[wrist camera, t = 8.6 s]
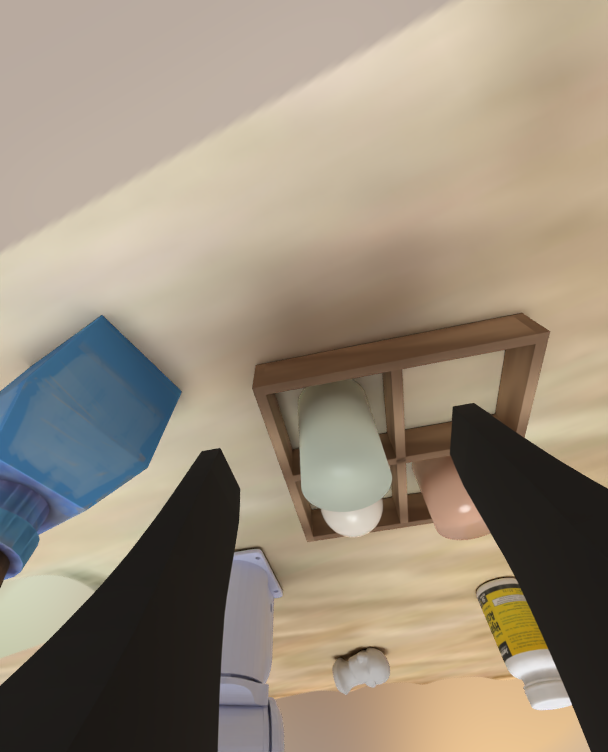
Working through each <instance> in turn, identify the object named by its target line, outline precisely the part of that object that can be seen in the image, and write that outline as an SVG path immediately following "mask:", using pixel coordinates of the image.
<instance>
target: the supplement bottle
mask: <svg viewBox="0 0 608 752" xmlns="http://www.w3.org/2000/svg"><path fill="white" fill-rule="evenodd" d="M477 598H478V601H479V603H480V606H481V608H482V610H483V613H484V615H485V617H486V620H487V622H488V625H489V627H490V629H491V632H492V634H493V636H494V639H495V641H496V644H497V646H498V648H499V651H500V653H501V655H502V658H503V660H504V663H505V665H506V667H507V669H508V671H509V672H510V673H511V674H512V675H513V676H514V677H516V678H518V679H521V680H522V681H523V682H524V684H525V686H524V690H525V694H526V695H527V698H528V700H529V702H530V704H531V706H532V708H533V709H536V710H551V709H558V708H563V707H567V706H570V705H572V703H571V701H570V699H569V696H568V694H567V692H566V689H565V687H564V685H563V682H562V680H561V678H560V675H559V673H558V671H557V668H556V666H555V663H554V661H553V659H552V656H551V654H550V652H549V650H548V647H547V645H546V643H545V641H544V639H543V636H542V634H541V632H540V630H539V627H538V625H537V623H536V621H535V618H534V616H533V614H532V612H531V610H530V608H529V605H528V603H527V601H526V599H525V597H524V595H523V593H522V591H521V588H520V586H519V584H518V582H517V580H516V579H515V578H501V579H496V580H493V581H490V582H487V583H485V584H483V585H482V586H480V587H479V588H478V590H477Z"/></svg>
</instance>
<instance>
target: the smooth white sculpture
mask: <svg viewBox="0 0 608 752" xmlns="http://www.w3.org/2000/svg"><path fill="white" fill-rule="evenodd" d="M389 675H390V666H389V663H388V660H387V658H386V656H385V655H384V654H383V653H382V652H381V651H380V650H378V649H375V648H367V650H362V651H360V652H359V653H357V654H355V655H354V656H352V657H350V658H349V661H345V660H344V659H342V658H340V657H339V658H338V659H337V660H336V661H335V663H334V664H333V677H334V681H335V684H336V686H337V689H338V690H339V691H340V692H342V693H344V694H346V695H347V694H348V693H349V691H350V690H351V689H352V688H353V687H354V686H356V685H359V684H364V683H366V685H367V686H369V687H375V686H376V684H382V683H384V682H386V681H387V680H388V678H389Z"/></svg>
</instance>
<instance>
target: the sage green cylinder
mask: <svg viewBox="0 0 608 752" xmlns="http://www.w3.org/2000/svg"><path fill="white" fill-rule="evenodd" d="M298 422H299V446H300V470H301V489H302V493H303V495H304V497H305V498H306V499H307V500H308V501H309V502H310V503H311V504H313V505H314V506H316V507H318V508H321V509H324V510H328V511H333V512H348V511H355V510H359V509H363V508H366V507H368V506H370V505H372V504H374V503H376V502H377V501H379V500H380V499H381V498H382V497H383V496H384V495H385V494H386V493H387V492H388V490H389V488H390V486H391V483H392V474H391V471H390V468H389V465H388V462H387V458H386V455H385V452H384V449H383V446H382V443H381V440H380V437H379V434H378V431H377V428H376V425H375V422H374V419H373V416H372V413H371V410H370V407H369V404H368V401H367V398H366V395H365V392H364V390H363V388H362V387H361V386H360V385H359V384H358V383H357V382H355V381H354V380H352V379H347V380H342V381H336V382H331V383H326V384H320V385H315V386H310V387H305V388H304V390H303V391H302V393H301V394H300V397H299V400H298Z"/></svg>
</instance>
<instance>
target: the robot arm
mask: <svg viewBox="0 0 608 752" xmlns="http://www.w3.org/2000/svg"><path fill="white" fill-rule="evenodd" d="M450 456H451V458H452V461H453V463H454V465H455V468H456V470H457V473H458V475H459V477H460V479H461V482H462V484H463V486H464V488H465V489H466V491H467V493H468V495H469V496H470V498H471V500H472V502H473V503H474V505H475V507H476V509H477V510H478V512H479V514H480V516H481V517H482V519H483V521H484V522H485V524H486V526H487V528H488V529H489V531H490V533H491V535H492V536H493V538H494V540H495V541H496V543H497V545H498V547H499V548H500V550H501V552H502V553H503V555H504V557H505V559H506V561H507V562H508V564H509V566H510V568H511V570H512V572H513V574H514V576H515V578H516V580H517V582H518V584H519V586H520V588H521V591H522V593H523V595H524V597H525V599H526V601H527V603H528V605H529V608H530V610H531V612H532V614H533V616H534V618H535V621H536V623H537V625H538V627H539V630H540V632H541V634H542V636H543V639H544V641H545V643H546V645H547V647H548V650H549V652H550V654H551V656H552V659H553V661H554V663H555V666H556V668H557V671H558V673H559V675H560V678H561V680H562V682H563V685H564V687H565V689H566V692H567V694H568V696H569V699H570V701H571V703H572V706H573V708H574V710H575V713H576V715H577V718H578V720H579V723H580V725H581V728H582V730H583V733H584V735H585V738H586V740H587V743H588V745H589V748H590V750H591V752H608V489H607V488H606V487H604V486H602V485H600V484H598V483H597V482H595V481H593V480H591V479H590V478H588V477H586V476H585V475H583V474H581V473H580V472H578V471H576V470H574V469H573V468H571V467H569V466H568V465H566V464H564V463H563V462H561V461H560V460H558V459H556V458H555V457H553V456H552V455H550V454H548V453H547V452H545V451H544V450H542V449H541V448H539V447H538V446H536V445H534V444H533V443H531V442H530V441H528V440H527V439H525V438H524V437H522V436H521V435H519V434H518V433H517V432H515V431H514V430H512V429H511V428H509V427H508V426H506V425H505V424H503V423H502V422H501V421H499V420H498V419H496V418H495V417H493V416H492V415H491V414H489V413H488V412H486V411H485V410H483V409H482V408H481V407H479V406H478V405H476V404H475V403H471V404H465V405H460V406H454V407H453V414H452V428H451V443H450ZM239 512H240V487H239V485H238V483H237V481H236V479H235V477H234V475H233V473H232V471H231V469H230V467H229V465H228V463H227V461H226V459H225V457H224V455H223V453H222V451H221V449H220V448H218V449H212V450H207V451H202V452H201V453H200V455H199V456H198V458H197V459H196V460H195V462H194V463H193V465H192V466H191V468H190V469H189V471H188V472H187V474H186V475H185V477H184V478H183V479H182V481H181V482H180V484H179V485H178V487H177V488H176V490H175V491H174V493H173V494H172V495H171V497H170V498H169V500H168V501H167V503H166V504H165V505H164V507H163V508H162V510H161V511H160V512H159V514H158V515H157V517H156V518H155V519H154V521H153V522H152V523H151V525H150V526H149V527H148V529H147V530H146V531H145V533H144V534H143V535H142V536H141V538H140V539H139V540H138V542H137V543H136V544H135V546H134V547H133V548H132V549H131V551H130V552H129V553H128V554H127V556H126V557H125V558H124V559H123V560H122V562H121V563H120V564H119V565H118V566H117V568H116V569H115V570H114V571H113V572H112V573H111V574H110V576H109V577H108V578H107V579H106V580H105V581H104V582H103V584H102V585H101V586H100V587H99V588H98V589H97V590H96V591H95V592H94V594H93V595H92V596H91V597H90V598H89V599H88V600H87V601H86V602H85V603H84V604H83V605H82V606H81V607H80V608H79V609H78V610H77V611H76V612H75V613H74V614H73V615H72V617H71V618H70V619H69V620H68V621H67V622H66V623H65V624H64V625H63V626H62V627H61V628H60V629H59V630H58V631H57V632H56V633H55V634H54V635H53V636H52V637H51V638H50V639H49V640H48V641H47V642H46V643H45V644H44V645H43V646H42V647H41V648H40V649H39V650H38V651H37V652H36V653H35V654H34V655H33V656H32V657H31V658H30V659H28V660H27V661H26V662H25V663H24V664H23V665H22V666H21V667H20V668H19V669H18V670H17V671H16V672H15V673H13V674H12V675H11V676H10V677H9V678H8V679H7V680H6V681H5V682H4V683H3V684H2V685H1V686H0V752H284V728H283V719H282V714H281V711H280V709H279V707H278V705H277V703H276V701H275V699H274V698H272V697H268V689H269V685H268V684H265V683H266V681H267V679H268V677H269V673H270V670H271V665H272V646H273V614H274V598H279V597H282V596H283V591H282V589H281V587H280V585H279V583H278V581H277V580H276V578H275V576H274V574H273V572H272V570H271V568H270V566H269V564H268V562H267V560H266V558H265V556H264V554H263V552H262V551H261V550H260V549H251V550H245V551H238V552H234V550H235V544H236V538H237V531H238V524H239Z"/></svg>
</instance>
